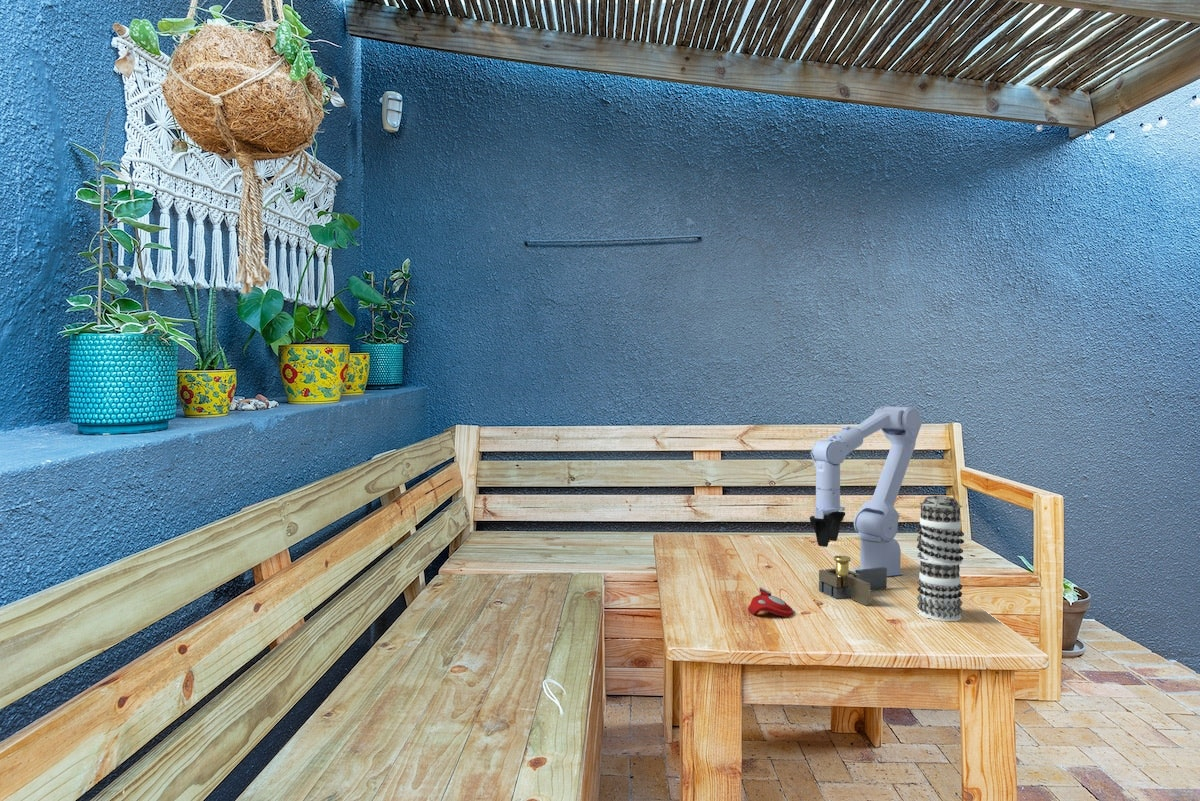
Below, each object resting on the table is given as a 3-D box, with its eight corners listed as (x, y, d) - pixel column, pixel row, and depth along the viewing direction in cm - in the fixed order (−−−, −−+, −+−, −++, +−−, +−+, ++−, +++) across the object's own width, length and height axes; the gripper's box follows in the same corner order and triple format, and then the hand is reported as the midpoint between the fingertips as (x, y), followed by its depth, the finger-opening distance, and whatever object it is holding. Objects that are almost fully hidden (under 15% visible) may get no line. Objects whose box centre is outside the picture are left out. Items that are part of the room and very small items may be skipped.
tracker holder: (804, 610, 153) (770, 606, 148) (797, 629, 154) (762, 625, 149) (768, 583, 164) (735, 579, 159) (761, 601, 164) (728, 597, 159)
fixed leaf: (836, 599, 164) (836, 577, 164) (818, 591, 170) (818, 570, 170) (894, 592, 169) (895, 571, 169) (875, 584, 175) (875, 564, 175)
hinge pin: (843, 591, 170) (843, 555, 170) (853, 595, 167) (853, 558, 166) (830, 592, 169) (830, 556, 169) (840, 597, 165) (840, 560, 165)
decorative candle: (905, 611, 155) (906, 495, 154) (937, 606, 158) (938, 493, 158) (941, 624, 146) (942, 502, 146) (973, 618, 150) (974, 499, 149)
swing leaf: (818, 590, 170) (818, 570, 170) (842, 587, 172) (842, 567, 172) (855, 606, 158) (855, 585, 157) (880, 603, 160) (880, 582, 160)
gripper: (835, 493, 170) (835, 551, 170) (852, 486, 182) (852, 539, 182) (806, 491, 174) (805, 547, 174) (824, 484, 186) (824, 536, 186)
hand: (827, 543), depth 179 cm, fingers open, 7 cm apart
